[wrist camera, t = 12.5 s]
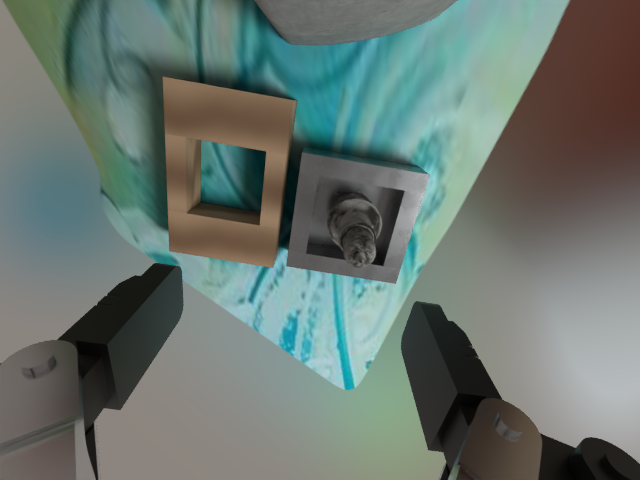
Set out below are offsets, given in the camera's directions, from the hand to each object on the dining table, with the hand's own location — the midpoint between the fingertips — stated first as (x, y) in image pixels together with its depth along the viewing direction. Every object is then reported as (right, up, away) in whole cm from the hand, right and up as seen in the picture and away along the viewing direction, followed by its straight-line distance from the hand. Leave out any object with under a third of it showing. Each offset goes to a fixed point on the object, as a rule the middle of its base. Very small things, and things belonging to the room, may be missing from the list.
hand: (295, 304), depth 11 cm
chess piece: (+5, +5, +26) cm, 27 cm away
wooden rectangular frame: (-9, +10, +25) cm, 28 cm away
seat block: (+5, +6, +26) cm, 27 cm away
